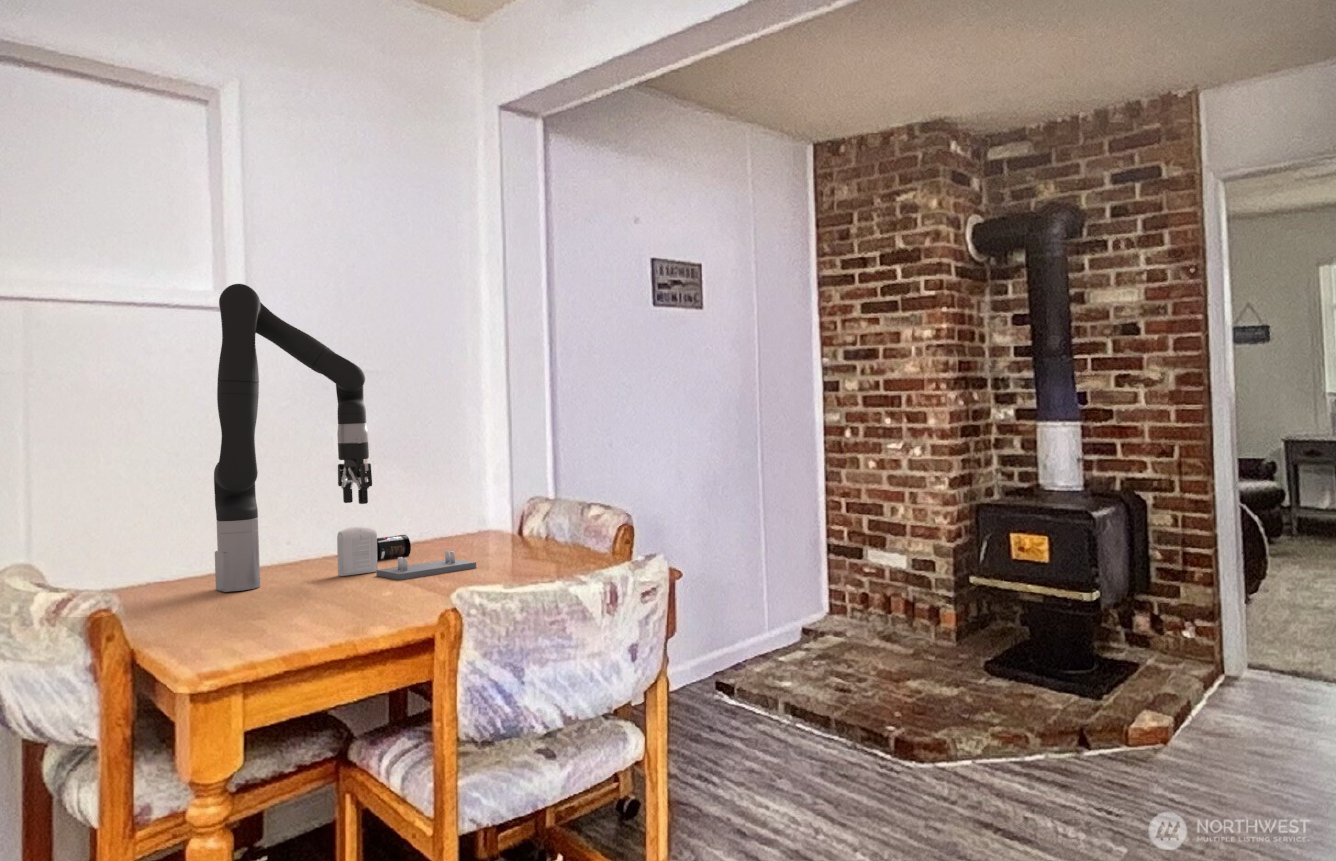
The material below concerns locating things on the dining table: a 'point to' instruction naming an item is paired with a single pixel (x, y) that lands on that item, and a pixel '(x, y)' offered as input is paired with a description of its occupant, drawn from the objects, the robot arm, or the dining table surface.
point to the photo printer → (357, 551)
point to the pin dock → (425, 567)
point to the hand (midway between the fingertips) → (355, 503)
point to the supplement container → (393, 547)
